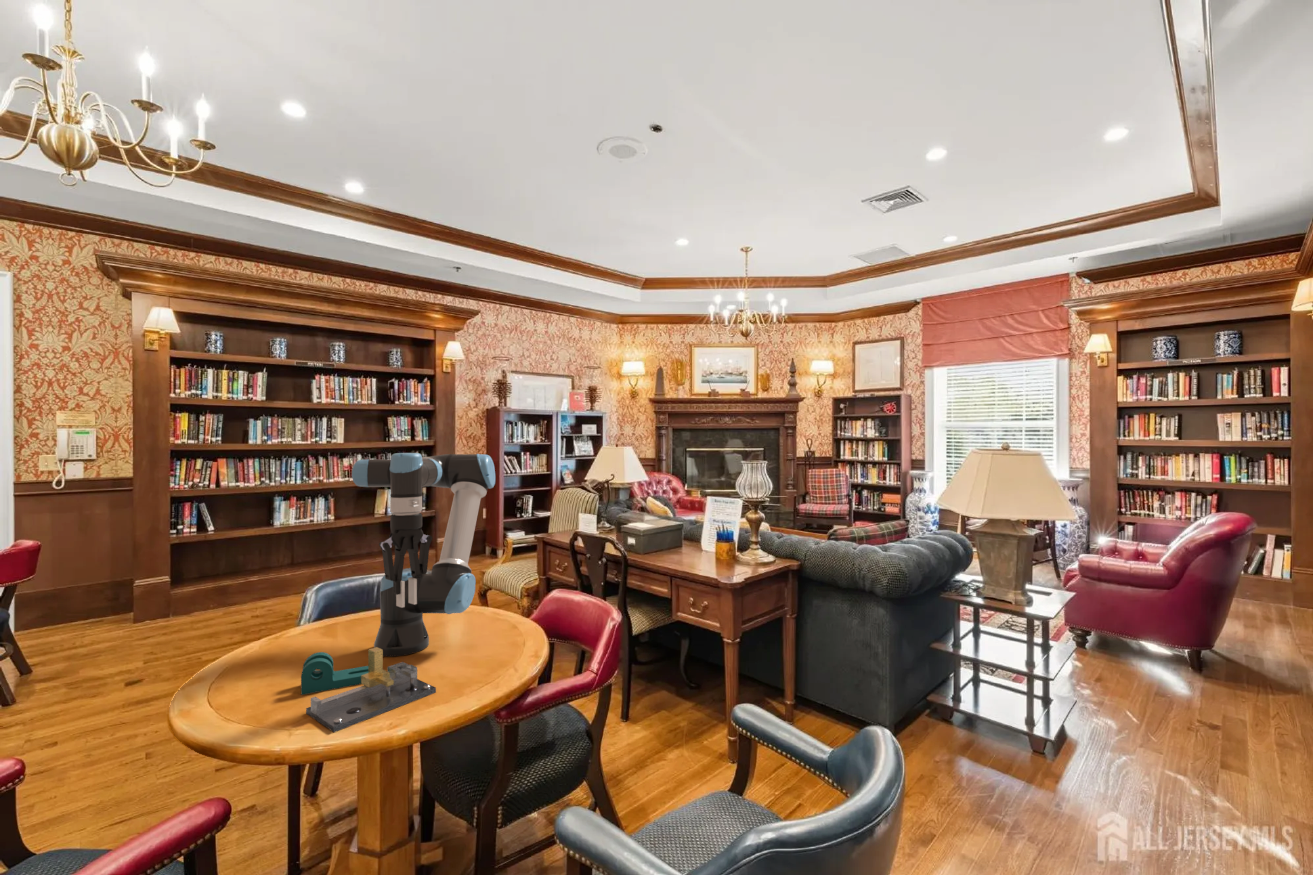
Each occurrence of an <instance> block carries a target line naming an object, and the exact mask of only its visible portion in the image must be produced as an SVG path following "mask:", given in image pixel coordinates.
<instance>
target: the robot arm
mask: <svg viewBox="0 0 1313 875" xmlns="http://www.w3.org/2000/svg"><path fill="white" fill-rule="evenodd" d="M495 468H496V467H495V464H494V461H493V458H492V457H491V456H490V455H488V454H482V453H476V454H474V453H472V454H471V453H470V454H469V453H467V454H466V453H464V454H462V453H459V454H457V453H456V454H455V453H453V454H452V453H450V454H448V453H446V454H439V455H432V456H424V457H423V456H422V454H421V453H418V452H399V453H398V452H397V453H393V454H391V456H390V459H379V458H378V459H376V458H375V459H373V458H371V459H370V458H367V459H358V460H356V461H355V462H354V464H353V466H352V470H351V478H352V482H353V483H354V484H355V486H356V487H359V488H361V487H363V488H381V487H382V488H383V487H384V488H386V487H387V488H388V487H389V488H390V498H389V502H390V503H389V505H390V507H389V508H390V509H389V510H390V512H391V515H390V517H389V519H390V522H389V523H390V534H389V536H388V538H387V539H385V540H384V541H380V542H379V543H378V545H379V547H380V549H381V550H380V551H382V560H383V562H382V563H383V569H384V575H383V576H382V577H381V580H380V586H379V587H380V590H379V592H380V595H379V598H380V599H379V601H380V605H379V606H380V607H379V608H380V625H379V628H378V632H377V635H376V637H375V640H374V643H373V648H375V647H378V648H380V649H382V650H383V657H400V656H407V655H411V654H414V653H415V654H416V653H417V652H421V651H422V650H424V649H426V648H427V647H429V643H430V637H429V636H430V635H429V633H428V631H427V628H426V625H425V621H424V619H423V616H424V615H423V614H446V615H452V614H461V613H464V612H465V611H466V610H467V609H469V607H470V605H471V604H472V603H473V599H474V596H475V594H476V583H477V582H476V577H475V575H474V574H473V573H472V568H470V566H469V560H470V556H471V552H472V551H471V550H472V545H473V541H474V535H475V529H476V525H477V519H478V515H479V510H480V506H481V500H482V498H485V497H486V495H487V492H488V489H490V490H491V489H493V488H494V486H495V485H496V471H495V470H496V469H495ZM424 487H436V488H444V489H450V491H451V492H452V493H453V494H454V495H453V499H452V503H451V508H450V512H449V517H448V521H447V525H446V528H445V529H446V530H445V534H444V538H443V542H442V548H441V551H440V556H439V561H437V562H436V563H434V564H433V565H432V567H431V568H432V569H431V571H430V573H427V572H428V565H429V564H428V563H429V554H430V553H429V552H430V545H431V543H432V541H433V536H432V535H428V534H427V535H426V534H424V531H423V530H422V528H423V514H422V513H421V512H422V511H423V488H424ZM419 543H420V544H419ZM419 545H420V546H419ZM393 546H394V558H393V551H392V547H393ZM407 553H408V560H409V568H404V563H405V555H406V554H407Z"/></svg>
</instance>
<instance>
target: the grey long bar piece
mask: <svg viewBox="0 0 1313 875" xmlns="http://www.w3.org/2000/svg"><path fill="white" fill-rule="evenodd" d="M386 669H387V670H386V671H387V672H389V673H390V679H392V680H394V684H393V685H390V688H391V687H394V686H397V685H399V684H402V683H405V682H408V681H410V689H414V680H416V679H418V667H417V666H415V665H413V664H408V663H406V662H404V661H401V662H398V663H394V664H393V665H392V664H391V665H389V666H387V668H386ZM385 689H386V686H385V685H383V684H379V685H376V686H373V687H371V688H369V687H367V686H365V685H363V684H362V685H361V686H357V687H355V688H352V689H349V690H346V691H343V692H340V693H338V694H334V695H331V696H329V697H326V698H323V699H320V698H318V697H317V696H313V697H310V707H311V712H312V713H314V714H315V715H319V714H321V712H324V711H327V710H330V709H333V708H335V707H338V706H341V705H344V704H346V703H349V702H352V701H355V700H358V699H360V698H363V697H366V696H369V695H372V694H374V693H377V692H380V691H383V690H385Z"/></svg>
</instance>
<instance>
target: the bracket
mask: <svg viewBox="0 0 1313 875" xmlns="http://www.w3.org/2000/svg"><path fill="white" fill-rule="evenodd" d="M367 673H368V665H365V666H359V667H354V668H347V669H340V670H334V659H333V657H332V656H331V655H330V654H329V653H327V652H324V651H321V652H314V653H313V654H310V656H309V655H308V657H307V658H306V659H305V661H304V663H303V666H302V671H301V676H300V696H303V695H310V694H314V693H315V694H316V693H319V692H325V691H330V690H336V689H343V688H347V687H354V686H359V685H362V684H361V675H364V674H367Z"/></svg>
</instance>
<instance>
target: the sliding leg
mask: <svg viewBox="0 0 1313 875" xmlns="http://www.w3.org/2000/svg"><path fill="white" fill-rule="evenodd" d="M367 650H368V656H367V657H368V665H367V666H368V673H367V674H364V675H361V684H360V685H362V686H363V685H365V686H367V687H369V688H371V687H373V686H376V685H379V684H383V685H385V686H386V697H389V696H390V685H393V684H394V680H392V679H390V673H389V672H387V670H386V669H384V667H383V666H384V665H383V663H384V660H383V659H384V658H383V657H384V656H383V650H382V649H380V648H378V647H375V648H374V647H373V648H369V649H367Z"/></svg>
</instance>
